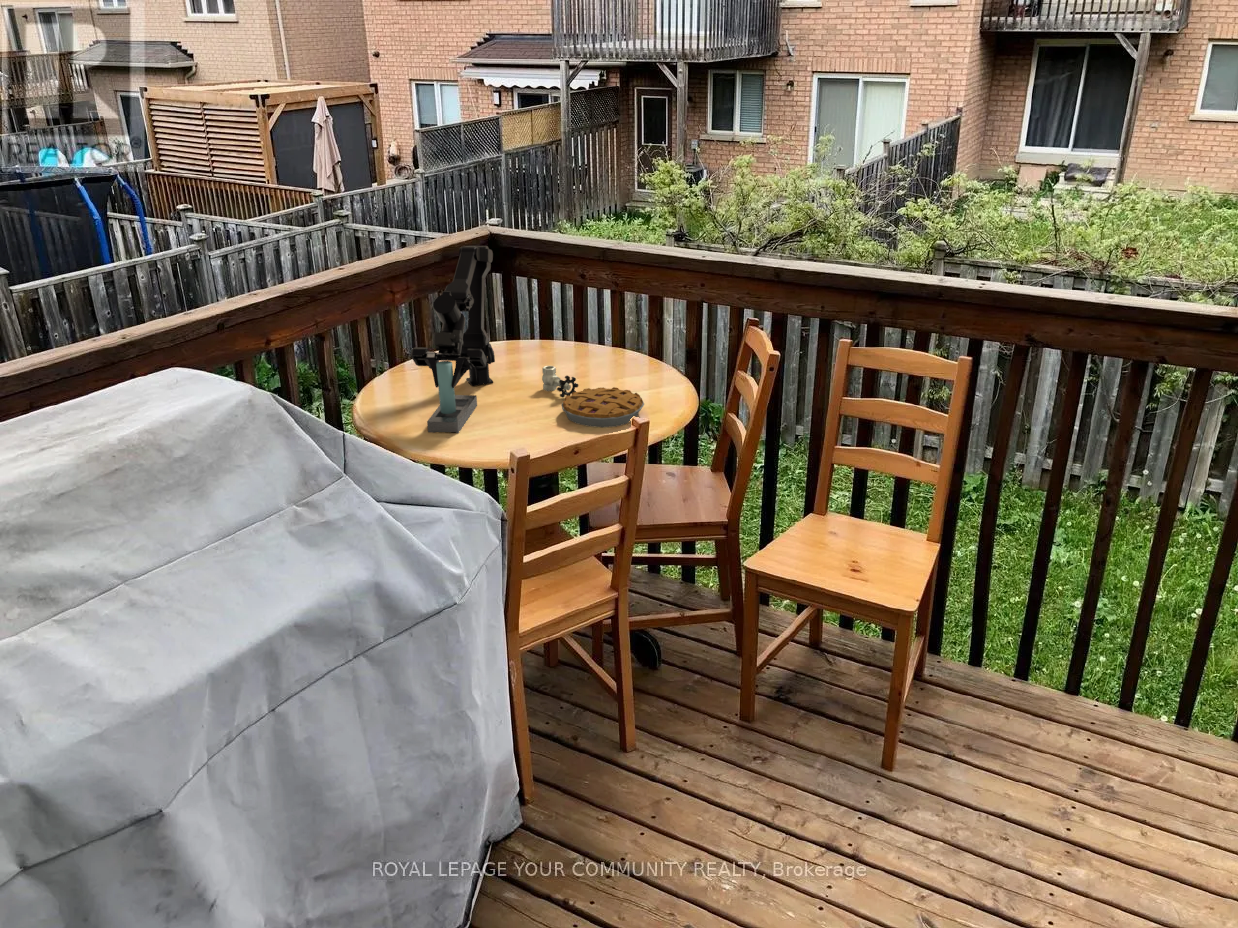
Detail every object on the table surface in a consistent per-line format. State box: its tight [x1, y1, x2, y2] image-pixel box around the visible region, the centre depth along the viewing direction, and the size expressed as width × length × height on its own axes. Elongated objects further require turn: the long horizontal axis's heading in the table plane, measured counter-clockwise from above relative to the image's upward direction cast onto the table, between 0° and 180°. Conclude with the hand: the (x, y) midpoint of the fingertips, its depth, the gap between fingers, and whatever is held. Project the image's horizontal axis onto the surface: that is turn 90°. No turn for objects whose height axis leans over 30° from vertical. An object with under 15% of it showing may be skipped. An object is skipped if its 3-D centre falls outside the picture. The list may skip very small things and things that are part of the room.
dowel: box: [436, 360, 456, 414], centre depth 257 cm, size 4×4×13 cm
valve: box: [541, 365, 579, 398], centre depth 281 cm, size 7×7×12 cm
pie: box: [560, 386, 645, 428], centre depth 265 cm, size 22×22×5 cm
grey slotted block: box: [426, 394, 478, 434], centre depth 264 cm, size 20×8×3 cm, turn 174°
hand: (444, 387), depth 255 cm, fingers closed on dowel, 4 cm apart
